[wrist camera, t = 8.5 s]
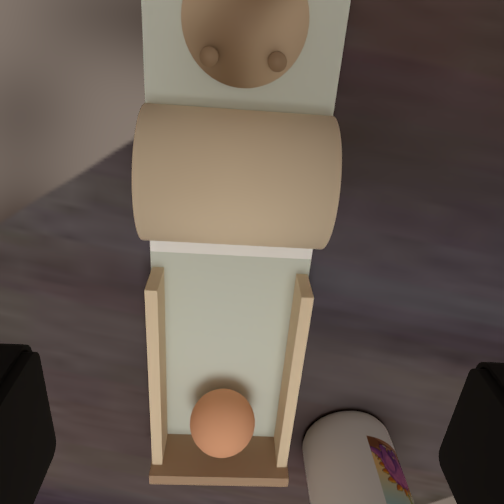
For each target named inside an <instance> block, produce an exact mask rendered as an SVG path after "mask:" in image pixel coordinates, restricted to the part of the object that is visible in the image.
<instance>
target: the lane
mask: <svg viewBox="0 0 504 504" xmlns="http://www.w3.org/2000/svg"><path fill="white" fill-rule="evenodd" d="M182 1H183V0H141V5H142V35H143V61H144V89H145V103H144V104H143V105H142V107H141V109H140V111H139V114H138V118H137V123H136V128H135V135H134V143H133V155H132V201H133V212H134V220H135V225H136V229H137V233H138V235H139V237H140V239H141V240H150V255H151V272H150V275H149V278H148V281H147V284H146V287H145V290H144V292H145V314H146V336H147V358H148V380H149V402H150V424H151V446H152V462H151V468H150V473H149V484H172V485H222V486H272V487H287V486H288V481H289V476H288V467H287V460H288V454H289V448H290V442H291V436H292V430H293V424H294V417H295V411H296V405H297V399H298V393H299V387H300V381H301V375H302V368H303V362H304V356H305V350H306V344H307V338H308V332H309V325H310V319H311V313H312V307H313V301H314V296H313V293H312V289H311V285H310V282H309V278H308V277H309V271H310V264H311V258H312V251H313V249H324V248H325V247H326V245H327V244H328V242H329V239H330V237H331V234H332V231H333V227H334V224H335V219H336V214H337V209H338V203H339V196H340V186H341V173H342V145H341V134H340V129H339V125H338V122H337V119H336V118H335V117H334V116H333V113H334V107H335V100H336V93H337V87H338V80H339V74H340V67H341V61H342V54H343V47H344V41H345V34H346V28H347V21H348V15H349V8H350V2H351V0H308V5H309V28H308V34H307V38H306V41H305V44H304V47H303V49H302V51H301V53H300V55H299V57H298V58H297V60H296V61H295V63H294V64H293V65H292V67H291V68H290V69H289V70H288V71H287V72H286V73H285V74H283V75H282V76H281V77H279V78H278V79H276V80H275V81H273V82H271V83H269V84H266V85H263V86H260V87H255V88H236V87H231V86H228V85H225V84H223V83H220V82H218V81H217V80H215V79H213V78H212V77H210V76H209V75H208V74H207V73H205V72H204V71H203V70H202V69H201V68H200V67H199V65H198V64H197V63H196V61H195V60H194V59H193V57H192V55H191V53H190V52H189V49H188V47H187V45H186V42H185V39H184V35H183V31H182V24H181V7H182ZM216 389H231V390H234V391H236V392H238V393H240V394H241V395H242V396H244V397H245V398H246V399H247V401H248V402H249V403H250V405H251V407H252V410H253V413H254V418H255V428H254V433H253V436H252V438H251V440H250V442H249V443H248V445H247V446H246V447H245V448H244V449H243V450H242V451H241V452H239V453H238V454H236V455H234V456H231V457H227V458H216V457H212V456H210V455H207V454H206V453H204V452H203V451H202V450H201V449H200V448H198V446H197V445H196V443H195V442H194V440H193V438H192V435H191V431H190V417H191V413H192V410H193V408H194V406H195V404H196V403H197V402H198V400H199V399H200V398H201V397H202V396H203V395H205V394H206V393H208V392H210V391H212V390H216Z"/></svg>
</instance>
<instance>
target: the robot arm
mask: <svg viewBox="0 0 504 504" xmlns="http://www.w3.org/2000/svg"><path fill="white" fill-rule="evenodd" d="M55 447H56V437H55V432H54V427H53V422H52V417H51V412H50V407H49V401H48V396H47V391H46V386H45V381H44V376H43V371H42V366H41V360H40V356H39V354H38V353H37V352H32V350H31V347H30V346H29V345H23V344H0V504H33V503H34V501H35V498H36V496H37V494H38V491H39V489H40V487H41V484H42V482H43V480H44V477H45V475H46V473H47V470H48V468H49V466H50V463H51V461H52V459H53V456H54V452H55ZM439 462H440V466H441V469H442V471H443V473H444V475H445V478H446V480H447V482H448V484H449V487H450V489H451V491H452V493H453V496H454V498H455V500H456V502H457V504H504V363H493V362H481V363H479V364H478V365H477V367H476V369H471V370H470V372H469V374H468V376H467V379H466V382H465V384H464V387H463V389H462V392H461V395H460V397H459V400H458V403H457V405H456V408H455V410H454V413H453V416H452V418H451V421H450V424H449V426H448V429H447V431H446V434H445V437H444V439H443V442H442V444H441V447H440V450H439Z"/></svg>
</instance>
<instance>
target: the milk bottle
mask: <svg viewBox="0 0 504 504" xmlns="http://www.w3.org/2000/svg"><path fill="white" fill-rule="evenodd" d="M302 449H303V458H304V464H305V471H306V478H307V485H308V491H309V498H310V504H414V502H413V499H412V496H411V493H410V491H409V488H408V485H407V482H406V480H405V477H404V474H403V471H402V468H401V466H400V463H399V460H398V457H397V455H396V452H395V449H394V447H393V444H392V441H391V439H390V436H389V434H388V431H387V429H386V428H385V426H384V425H383V424H382V423H381V422H380V421H379V420H378V419H376V418H375V417H374V416H372V415H370V414H367V413H364V412H360V411H341V412H335V413H332V414H329V415H327V416H325V417H322V418H320V419H319V420H318V421H316V422H315V423H314V424H313V425H312V426H311V427H310V428H309V429H308V431H307V432H306V435H305V437H304V440H303V445H302Z"/></svg>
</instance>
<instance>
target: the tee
mask: <svg viewBox="0 0 504 504" xmlns="http://www.w3.org/2000/svg"><path fill="white" fill-rule="evenodd" d="M181 24H182V31H183V35H184V39H185V42H186V45H187V47H188V49H189V52H190V53H191V55H192V57H193V59H194V60H195V61H196V63H197V64H198V65H199V67H200V68H201V69H202V70H203V71H204V72H205V73H207V74H208V75H209V76H210V77H212V78H213V79H215V80H217V81H218V82H220V83H223V84H225V85H228V86H231V87H236V88H255V87H260V86H263V85H266V84H269V83H271V82H273V81H275V80H276V79H278V78H279V77H281V76H282V75H283V74H285V73H286V72H287V71H288V70H289V69H290V68H291V67H292V65H293V64H294V63H295V61H296V60H297V58H298V57H299V55H300V53H301V51H302V49H303V47H304V44H305V41H306V38H307V34H308V28H309V5H308V0H183V1H182V7H181Z"/></svg>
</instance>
